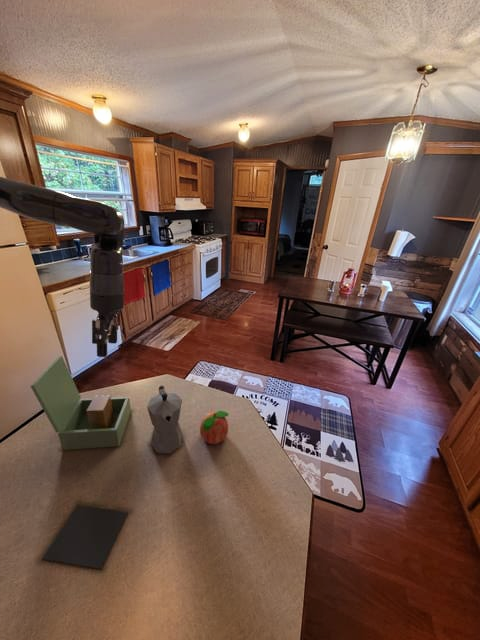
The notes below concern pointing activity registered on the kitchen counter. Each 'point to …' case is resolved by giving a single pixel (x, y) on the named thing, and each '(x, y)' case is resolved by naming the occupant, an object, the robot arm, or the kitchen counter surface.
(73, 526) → the plate
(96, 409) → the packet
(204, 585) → the kitchen counter surface
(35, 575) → the kitchen counter surface
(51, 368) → the lid
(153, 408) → the coffeepot
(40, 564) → the kitchen counter surface
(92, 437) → the open box
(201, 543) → the kitchen counter surface
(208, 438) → the fruit
